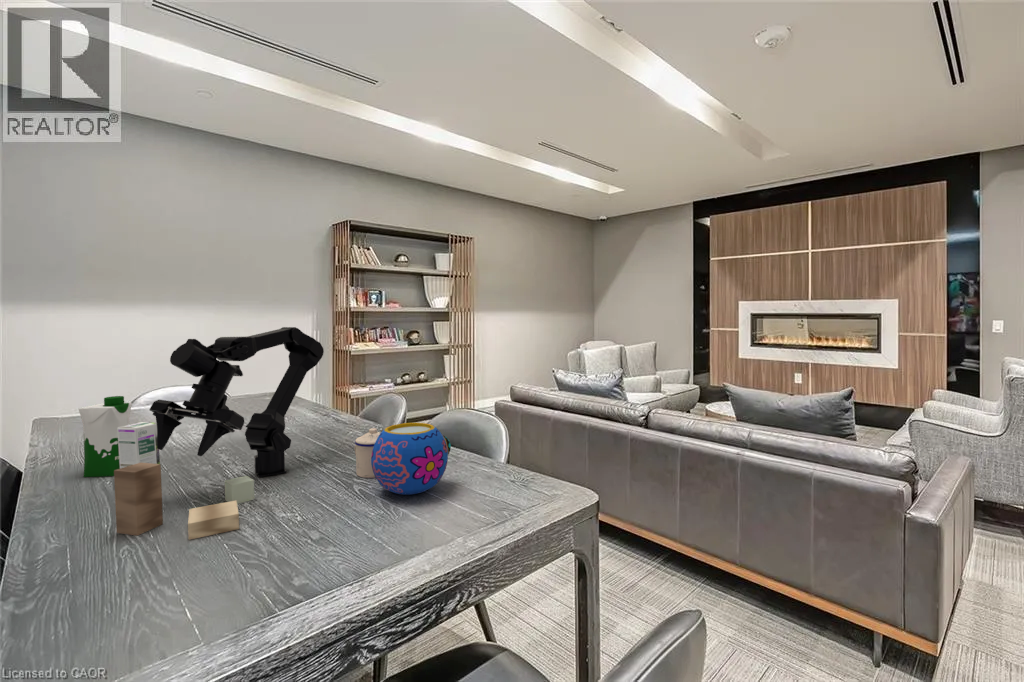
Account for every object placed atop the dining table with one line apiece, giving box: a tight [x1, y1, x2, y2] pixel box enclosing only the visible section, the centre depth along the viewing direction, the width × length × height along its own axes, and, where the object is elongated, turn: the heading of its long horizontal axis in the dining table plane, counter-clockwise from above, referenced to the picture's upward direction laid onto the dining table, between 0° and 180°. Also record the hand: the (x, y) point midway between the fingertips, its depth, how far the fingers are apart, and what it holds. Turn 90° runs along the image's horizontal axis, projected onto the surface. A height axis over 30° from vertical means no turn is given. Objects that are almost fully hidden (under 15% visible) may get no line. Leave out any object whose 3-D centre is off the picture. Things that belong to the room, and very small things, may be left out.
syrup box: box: [117, 421, 161, 468], centre depth 116 cm, size 6×6×14 cm
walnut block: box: [113, 463, 164, 536], centre depth 90 cm, size 5×5×12 cm
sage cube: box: [224, 475, 255, 505], centre depth 105 cm, size 4×4×4 cm
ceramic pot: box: [371, 422, 452, 496], centre depth 109 cm, size 18×18×15 cm
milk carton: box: [78, 395, 132, 478], centre depth 123 cm, size 9×9×20 cm
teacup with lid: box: [354, 427, 381, 479], centre depth 123 cm, size 12×9×12 cm
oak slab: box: [187, 500, 240, 541], centre depth 91 cm, size 8×8×3 cm
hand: (179, 452), depth 99 cm, fingers open, 9 cm apart
